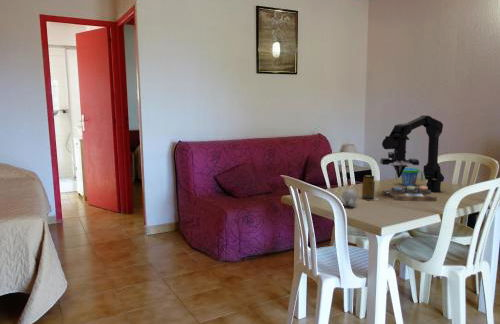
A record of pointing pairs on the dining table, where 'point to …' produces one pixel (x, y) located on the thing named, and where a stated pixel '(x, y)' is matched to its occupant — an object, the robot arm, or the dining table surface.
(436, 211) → the dining table surface
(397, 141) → the robot arm
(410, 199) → the console
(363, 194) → the condiment
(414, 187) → the sage button
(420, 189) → the terracotta button
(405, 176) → the snack cup
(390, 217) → the dining table surface
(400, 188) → the slate blue button
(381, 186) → the dining table surface
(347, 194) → the round bodied animal figurine
